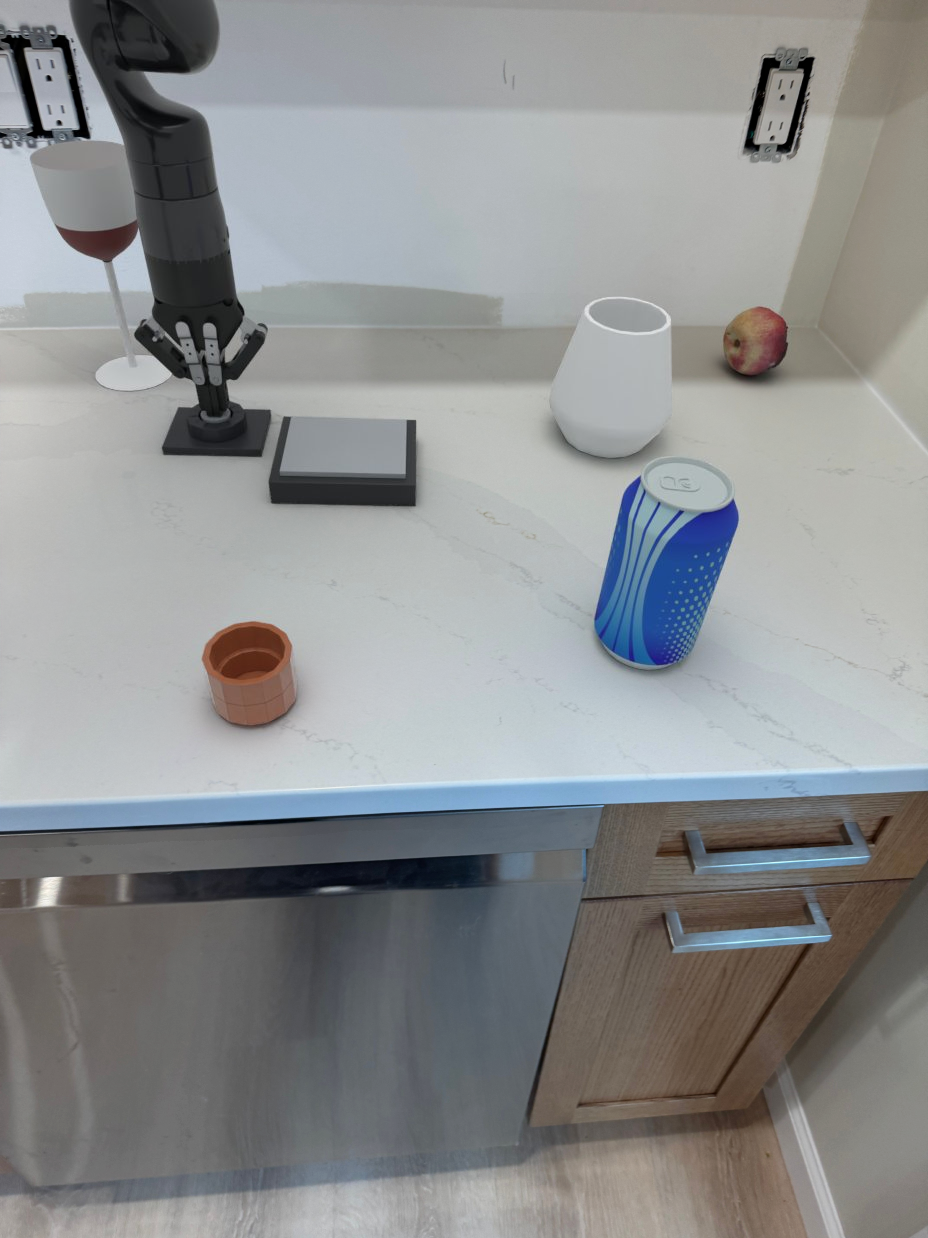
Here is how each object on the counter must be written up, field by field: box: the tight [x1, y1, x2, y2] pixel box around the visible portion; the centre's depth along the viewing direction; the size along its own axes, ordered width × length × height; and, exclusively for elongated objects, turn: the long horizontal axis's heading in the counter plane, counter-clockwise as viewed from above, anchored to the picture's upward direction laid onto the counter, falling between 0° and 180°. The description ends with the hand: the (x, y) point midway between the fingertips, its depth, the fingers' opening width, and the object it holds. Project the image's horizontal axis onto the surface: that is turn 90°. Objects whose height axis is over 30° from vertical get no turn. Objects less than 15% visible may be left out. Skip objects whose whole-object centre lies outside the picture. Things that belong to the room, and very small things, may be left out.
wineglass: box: [29, 139, 173, 392], centre depth 88 cm, size 9×10×23 cm
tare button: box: [201, 408, 231, 423], centre depth 86 cm, size 3×3×2 cm
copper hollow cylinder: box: [201, 620, 298, 727], centre depth 60 cm, size 6×6×5 cm
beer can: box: [593, 455, 740, 671], centre depth 63 cm, size 8×8×16 cm
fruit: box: [722, 305, 789, 376], centre depth 102 cm, size 8×8×8 cm
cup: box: [548, 296, 673, 459], centre depth 87 cm, size 13×13×14 cm
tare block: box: [161, 400, 272, 457], centre depth 87 cm, size 10×8×2 cm
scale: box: [268, 415, 417, 507], centre depth 83 cm, size 14×12×3 cm
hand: (216, 412), depth 86 cm, fingers closed
